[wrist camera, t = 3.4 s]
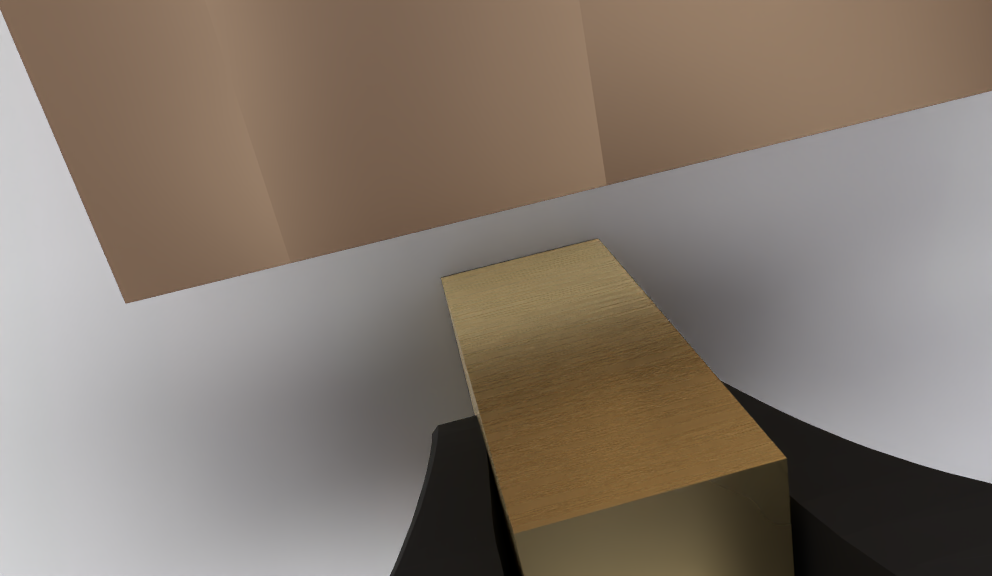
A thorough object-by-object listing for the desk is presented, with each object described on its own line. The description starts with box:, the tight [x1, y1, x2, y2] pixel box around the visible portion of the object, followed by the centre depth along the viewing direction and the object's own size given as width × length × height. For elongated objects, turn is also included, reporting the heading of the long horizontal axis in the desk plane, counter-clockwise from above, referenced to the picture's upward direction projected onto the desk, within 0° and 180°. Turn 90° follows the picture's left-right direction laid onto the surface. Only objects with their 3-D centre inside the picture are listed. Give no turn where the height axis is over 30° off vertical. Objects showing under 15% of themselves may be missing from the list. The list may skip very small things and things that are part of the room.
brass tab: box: [441, 239, 794, 576], centre depth 11 cm, size 2×5×6 cm, turn 12°
